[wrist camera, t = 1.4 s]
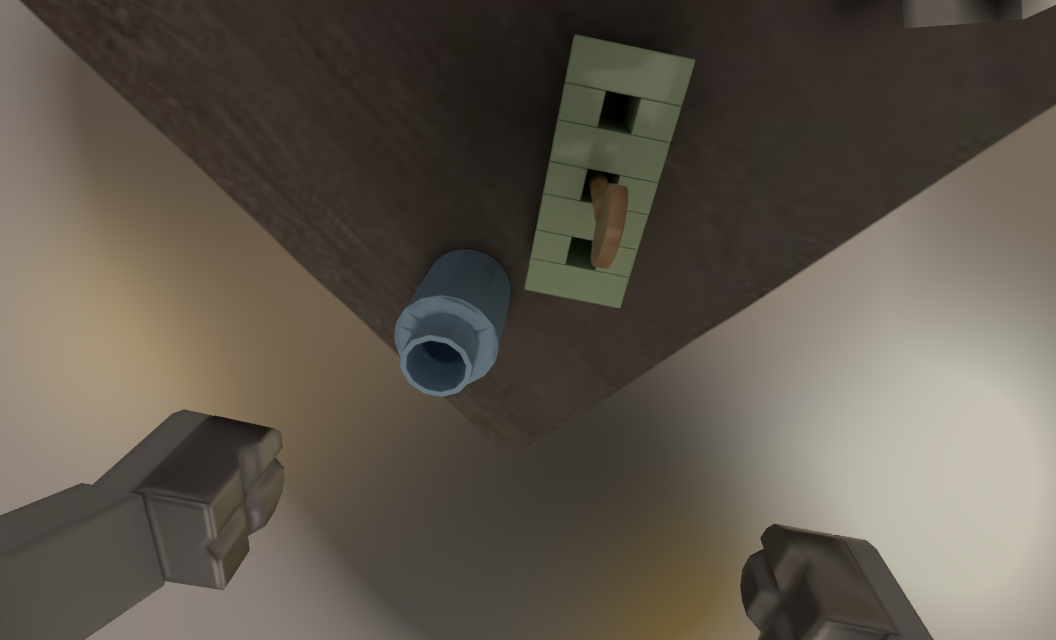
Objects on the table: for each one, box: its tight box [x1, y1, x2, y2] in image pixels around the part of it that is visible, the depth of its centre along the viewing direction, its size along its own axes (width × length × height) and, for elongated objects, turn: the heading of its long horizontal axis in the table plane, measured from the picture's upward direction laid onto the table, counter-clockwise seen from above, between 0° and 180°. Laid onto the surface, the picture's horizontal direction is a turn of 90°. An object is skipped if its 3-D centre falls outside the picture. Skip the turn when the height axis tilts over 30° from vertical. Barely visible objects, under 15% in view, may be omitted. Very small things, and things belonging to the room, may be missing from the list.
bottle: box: [395, 249, 511, 397], centre depth 37 cm, size 7×7×12 cm
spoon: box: [587, 168, 628, 269], centre depth 30 cm, size 4×1×17 cm, turn 170°
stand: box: [524, 35, 695, 308], centre depth 34 cm, size 16×7×7 cm, turn 170°
